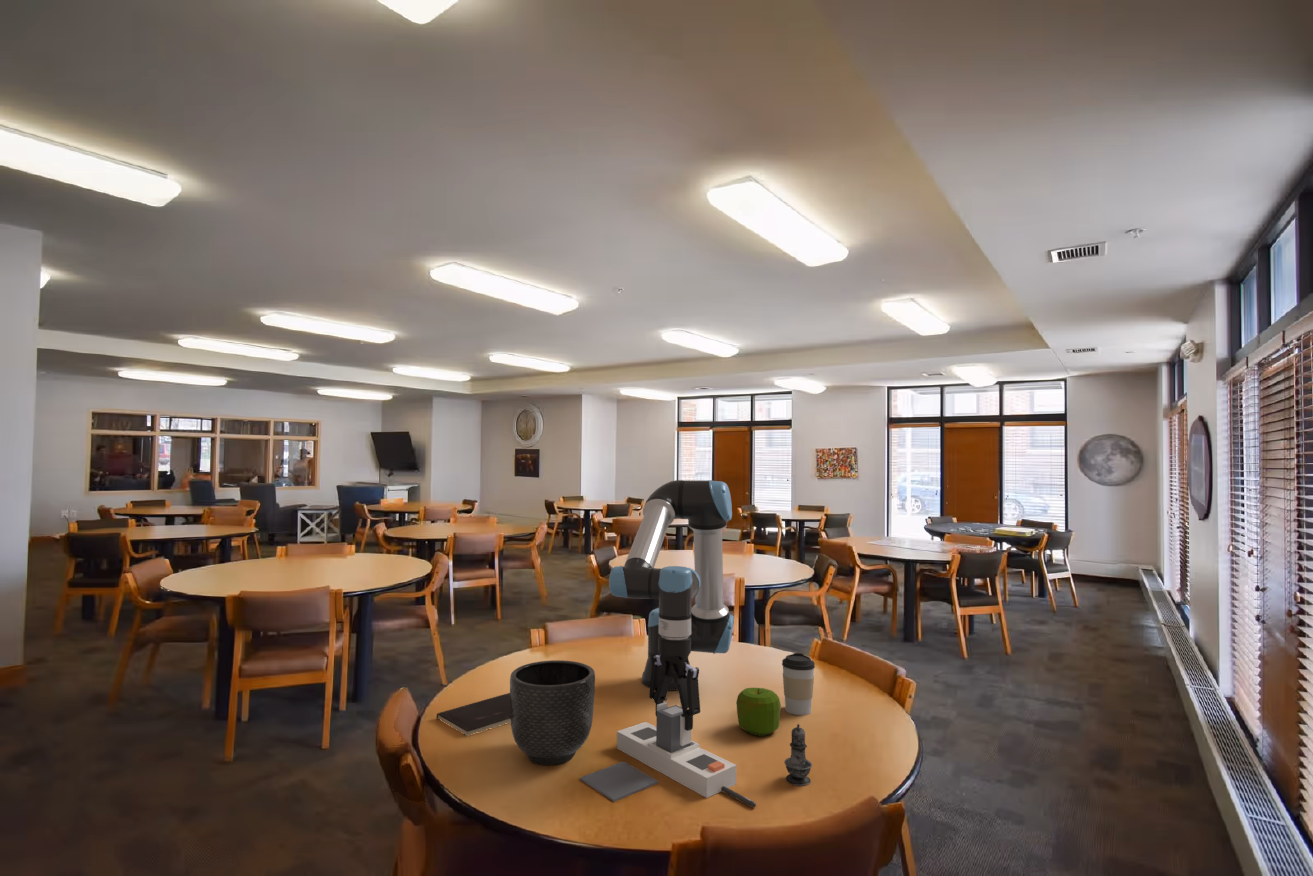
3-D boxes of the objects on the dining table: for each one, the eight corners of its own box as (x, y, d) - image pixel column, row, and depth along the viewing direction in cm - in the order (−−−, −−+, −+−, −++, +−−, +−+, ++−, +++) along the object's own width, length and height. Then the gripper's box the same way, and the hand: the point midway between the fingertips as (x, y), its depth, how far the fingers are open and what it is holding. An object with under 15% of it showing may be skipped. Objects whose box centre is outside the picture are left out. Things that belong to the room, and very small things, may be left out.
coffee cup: (815, 718, 173) (815, 662, 174) (781, 715, 175) (781, 659, 176) (814, 706, 182) (814, 652, 183) (781, 703, 184) (782, 650, 185)
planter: (555, 784, 135) (557, 693, 136) (489, 760, 146) (491, 676, 147) (610, 750, 152) (611, 669, 153) (547, 731, 162) (549, 655, 163)
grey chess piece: (781, 773, 141) (781, 718, 142) (807, 773, 142) (807, 718, 143) (788, 787, 136) (789, 729, 136) (815, 786, 136) (815, 729, 137)
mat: (579, 779, 138) (579, 777, 138) (623, 763, 146) (623, 761, 146) (613, 802, 129) (613, 799, 129) (658, 783, 136) (658, 781, 137)
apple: (782, 725, 168) (783, 683, 169) (776, 742, 158) (776, 697, 158) (741, 719, 172) (741, 678, 172) (732, 735, 162) (732, 691, 162)
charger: (656, 747, 145) (656, 710, 145) (675, 739, 149) (675, 704, 149) (671, 754, 141) (671, 717, 141) (690, 747, 145) (690, 710, 145)
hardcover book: (543, 714, 174) (543, 706, 174) (466, 740, 158) (467, 730, 158) (510, 699, 186) (511, 691, 186) (436, 721, 169) (436, 712, 169)
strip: (616, 748, 153) (617, 727, 153) (645, 738, 159) (645, 718, 159) (740, 816, 124) (740, 791, 124) (769, 801, 130) (769, 777, 130)
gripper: (634, 629, 151) (632, 728, 150) (694, 648, 136) (692, 758, 135) (657, 624, 156) (656, 720, 155) (718, 642, 141) (717, 748, 140)
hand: (673, 737), depth 145 cm, fingers open, 7 cm apart
